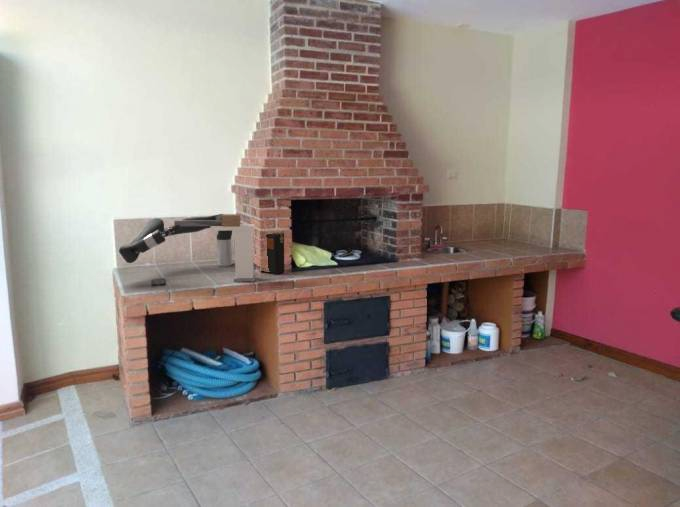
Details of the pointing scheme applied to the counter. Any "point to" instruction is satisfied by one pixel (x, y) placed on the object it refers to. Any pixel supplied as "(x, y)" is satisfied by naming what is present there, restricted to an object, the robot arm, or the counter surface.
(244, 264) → the shelf stand
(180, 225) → the carriage
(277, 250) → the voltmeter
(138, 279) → the counter surface
